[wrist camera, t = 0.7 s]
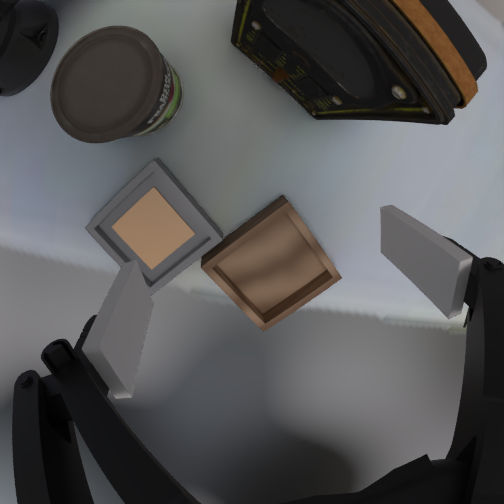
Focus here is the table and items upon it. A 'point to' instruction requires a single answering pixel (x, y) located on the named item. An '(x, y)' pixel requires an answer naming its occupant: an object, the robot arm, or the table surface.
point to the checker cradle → (155, 226)
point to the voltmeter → (364, 56)
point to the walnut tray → (270, 265)
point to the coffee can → (114, 87)
